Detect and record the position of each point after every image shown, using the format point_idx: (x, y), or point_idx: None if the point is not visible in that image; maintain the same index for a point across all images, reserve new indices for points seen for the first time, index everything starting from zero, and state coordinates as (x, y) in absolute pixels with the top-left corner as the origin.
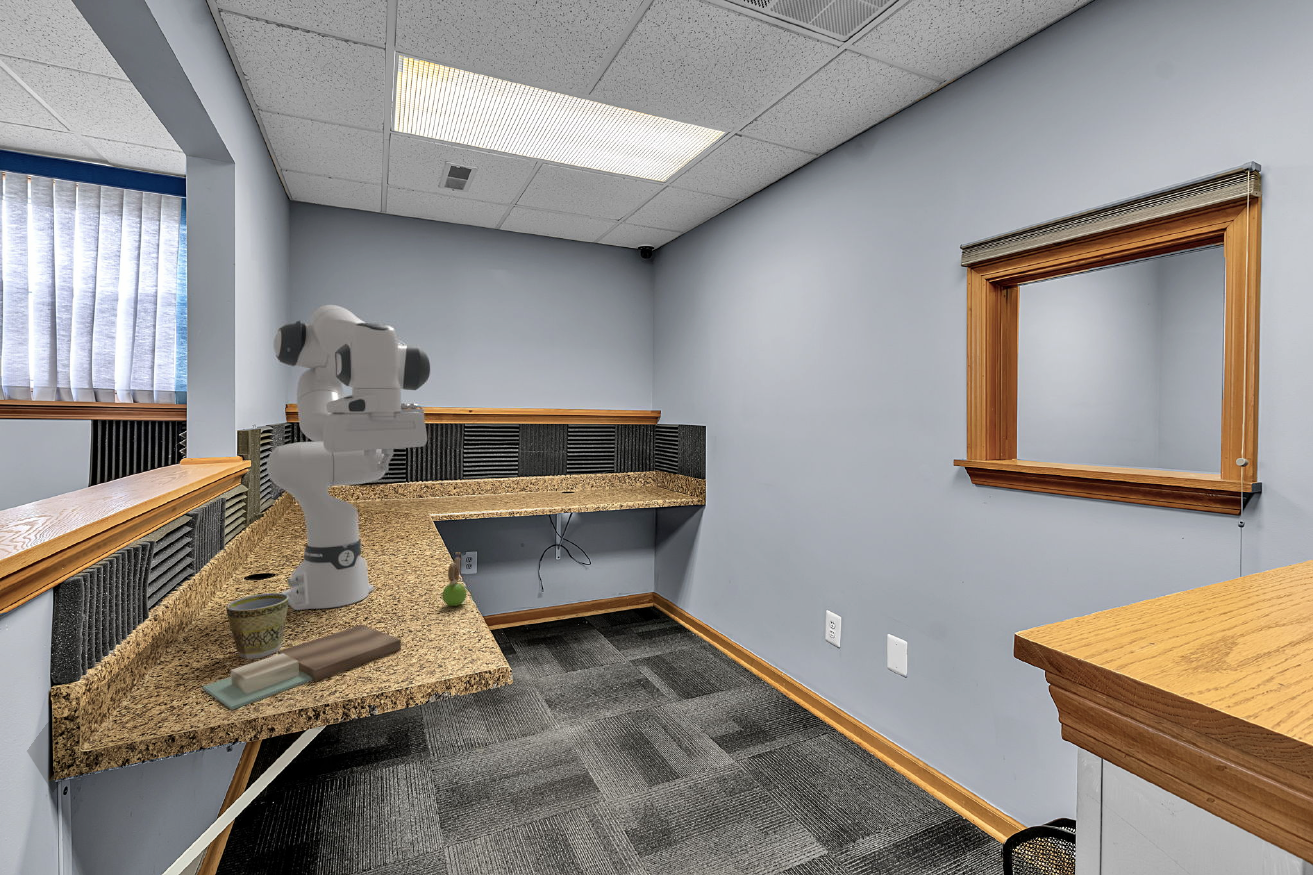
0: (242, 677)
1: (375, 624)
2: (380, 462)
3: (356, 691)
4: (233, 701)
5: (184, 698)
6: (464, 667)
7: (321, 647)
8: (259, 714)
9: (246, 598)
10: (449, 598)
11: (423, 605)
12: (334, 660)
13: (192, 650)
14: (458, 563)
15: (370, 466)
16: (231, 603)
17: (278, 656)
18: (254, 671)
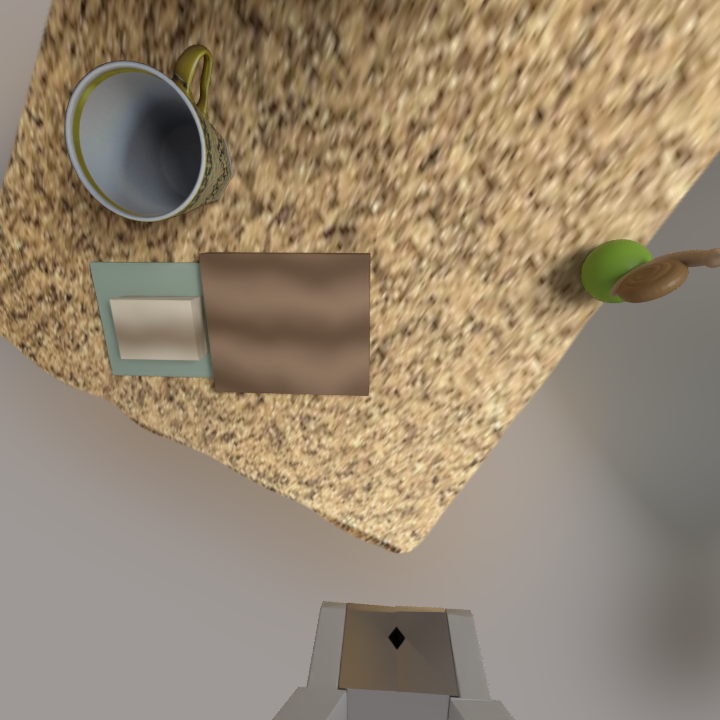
0: (119, 345)
1: (418, 220)
2: (447, 697)
3: (250, 459)
4: (117, 360)
5: (68, 274)
6: (385, 518)
7: (259, 307)
8: (140, 415)
9: (120, 67)
10: (585, 287)
11: (567, 195)
12: (251, 382)
13: (96, 9)
14: (702, 265)
15: (314, 652)
16: (80, 91)
17: (180, 309)
18: (136, 340)
